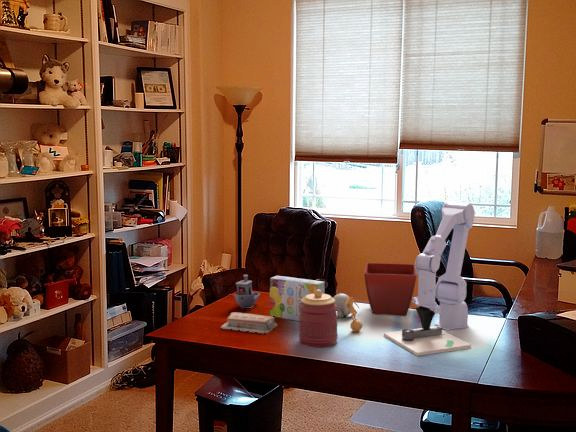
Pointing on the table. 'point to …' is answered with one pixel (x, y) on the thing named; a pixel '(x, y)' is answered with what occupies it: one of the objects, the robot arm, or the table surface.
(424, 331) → the lever
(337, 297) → the chubby cartoon animal
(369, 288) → the plant pot
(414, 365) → the table surface
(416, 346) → the dial board
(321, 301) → the canister
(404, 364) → the table surface
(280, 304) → the snack box
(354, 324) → the figurine
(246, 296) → the toy boat
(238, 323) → the butter dish
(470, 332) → the table surface
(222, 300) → the table surface
